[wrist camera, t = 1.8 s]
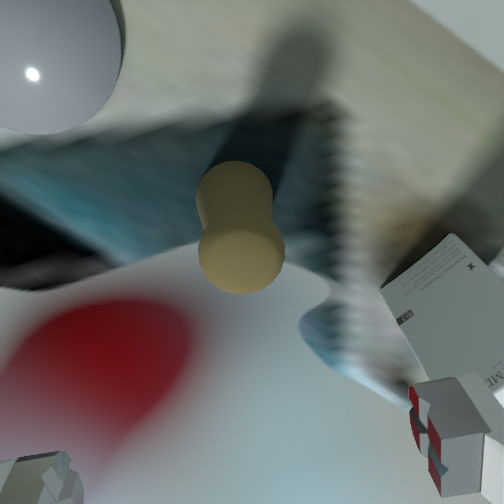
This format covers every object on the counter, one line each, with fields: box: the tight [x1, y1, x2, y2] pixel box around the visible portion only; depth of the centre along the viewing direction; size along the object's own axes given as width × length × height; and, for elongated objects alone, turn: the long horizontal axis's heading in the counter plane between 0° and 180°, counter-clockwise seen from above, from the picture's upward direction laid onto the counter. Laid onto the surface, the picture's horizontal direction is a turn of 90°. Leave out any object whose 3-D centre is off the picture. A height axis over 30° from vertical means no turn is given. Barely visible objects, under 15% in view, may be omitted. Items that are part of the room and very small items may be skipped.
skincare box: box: [380, 233, 504, 408], centre depth 35 cm, size 8×6×15 cm
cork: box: [196, 161, 285, 294], centre depth 31 cm, size 6×6×11 cm
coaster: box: [0, 0, 122, 135], centre depth 30 cm, size 12×12×1 cm
